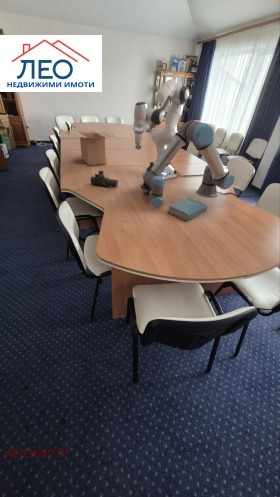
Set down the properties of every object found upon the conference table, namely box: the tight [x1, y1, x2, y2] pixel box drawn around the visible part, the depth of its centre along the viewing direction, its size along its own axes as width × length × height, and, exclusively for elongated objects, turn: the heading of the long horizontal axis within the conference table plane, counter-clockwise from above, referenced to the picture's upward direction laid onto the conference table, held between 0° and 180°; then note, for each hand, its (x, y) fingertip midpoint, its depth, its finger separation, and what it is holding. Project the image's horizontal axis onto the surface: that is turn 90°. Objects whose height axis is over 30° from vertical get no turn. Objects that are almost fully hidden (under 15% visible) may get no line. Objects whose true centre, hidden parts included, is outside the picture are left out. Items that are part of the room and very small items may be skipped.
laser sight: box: [89, 170, 119, 188], centre depth 180 cm, size 10×22×10 cm, turn 78°
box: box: [70, 129, 114, 166], centre depth 229 cm, size 44×36×27 cm
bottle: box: [144, 161, 155, 196], centre depth 169 cm, size 8×8×24 cm
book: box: [167, 196, 208, 222], centre depth 151 cm, size 23×16×5 cm
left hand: (138, 148), depth 170 cm, fingers closed on cap, 4 cm apart
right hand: (149, 182), depth 176 cm, fingers closed on bottle, 8 cm apart
